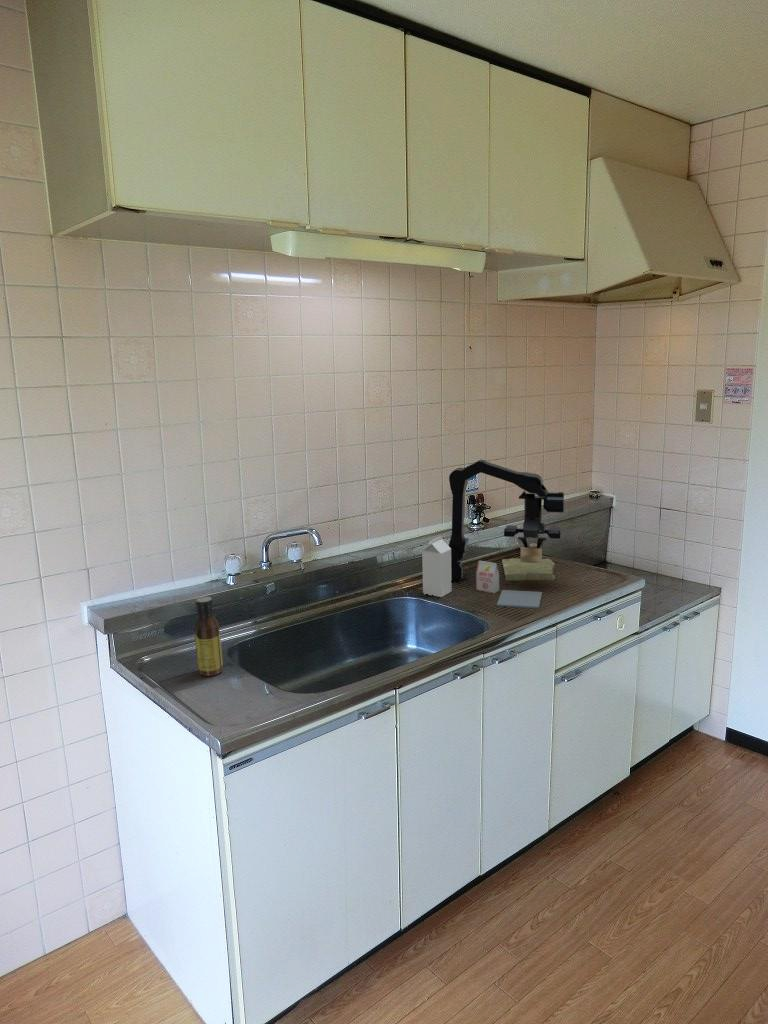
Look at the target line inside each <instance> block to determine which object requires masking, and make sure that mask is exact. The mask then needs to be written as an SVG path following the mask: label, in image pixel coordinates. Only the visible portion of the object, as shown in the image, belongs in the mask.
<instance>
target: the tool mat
mask: <svg viewBox="0 0 768 1024" xmlns="http://www.w3.org/2000/svg"><path fill="white" fill-rule="evenodd" d="M542 596H543V592H542V591H531V590H530V591H527V590H526V591H525V590H512V589H510V590H509V589H507V590H506V589H501V591H500V595H499V597H498V600H497V603H496V606H497V607H502V606H503V607H504V606H506V608H520V609H521V608H522V609H535V610H536V609H537V610H539V609H540V604H541V601H542Z"/></svg>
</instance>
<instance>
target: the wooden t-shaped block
mask: <svg viewBox="0 0 768 1024" xmlns="http://www.w3.org/2000/svg"><path fill="white" fill-rule="evenodd" d="M520 559H521V562H523V563H542V559H543V548H542V547H540V548H537V542H535V543H530V544H529V548H526V547H524V546H522V547H520Z"/></svg>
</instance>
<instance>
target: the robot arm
mask: <svg viewBox="0 0 768 1024" xmlns="http://www.w3.org/2000/svg"><path fill="white" fill-rule="evenodd" d="M480 473H482V474H485V475H488V476H490V477H493V478H496V479H499V480H503V481H505V482H508V483H512V484H514V485H515V486H517V487H518V488H520V489H522V490H523V492H522V493H520V494H519V496H518V500H519V499H520V500H524V507H523V508H524V511H523V515H524V516H523V517H524V521H523V525H522V528H519V527H518V525H506V526H505V528H504V530H503V536H504V537H507V538H508V537H509V538H512V537H513V538H514V537H515V536H516V535H517V540H520V541H521V543H522V545H523V547H526V548H529V546H530V544H529V538H532V539H537V542H536V544H537V548H541V547H542V544H543V542H544V541H548V540H547V539H548V538H549V539H556V540H559V539H560V540H561V538H562V528H561V527H560V526H549V528H548V529H545V522H542V512H543V511H542V509H543V510H544V511H546V513H563V514H564V513H565V502H566V501H565V492H564V491H559V492H554V491H553V492H551V491H549V490H548V489H547V487H545V484H544V483H543V482H544V481H543V478H542V477H541V475H539V474H538V473H534V472H533V473H532V472H524V471H516V470H513V469H510V468H508V467H504V466H502V465H498V464H495V463H492V462H489V461H486V460H484V459H479V460H477V461H476V462H473V463H472V464H469V465H468V466H465V467H457V468H455V469H454V470H452V472H451V473H449V475H448V476H449V477H448V483H449V487H450V491H451V494H452V502H451V503H452V507H451V508H452V509H451V510H452V511H451V536H450V539H449V543H448V546H449V547H450V548H451V581H456V582H455V583H460V582H459V581H461V580H463V578H464V577H463V576H464V575H463V574H464V572H463V571H464V570H463V568H464V567H463V566H462V561H461V560H462V559H463V558H464V556H465V555H466V554H467V552H468V550H469V549H470V548H469V545H468V544H469V540H470V539H469V537H465V532H464V529H465V527H464V523H465V521H464V520H465V495H466V491H467V488H468V485H469V484H468V483H469V479H471V478H473V477H474V476H476V475H478V474H480ZM542 504H543V505H542ZM542 506H543V507H542Z"/></svg>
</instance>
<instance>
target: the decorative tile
mask: <svg viewBox="0 0 768 1024" xmlns="http://www.w3.org/2000/svg"><path fill="white" fill-rule="evenodd" d="M501 561H502V568H503V569H504V570H503V569H502V570H503V574H504V579H505V581H554V580H556V577H555V574H554V573H555V565H556V563H555V562H554V561H553V560H551V559H550V558H542V563H523V562H521V558H517V557H516V558H513V557H512V558H508V559H507V558H503V559H502V560H501ZM553 572H554V573H553Z"/></svg>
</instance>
